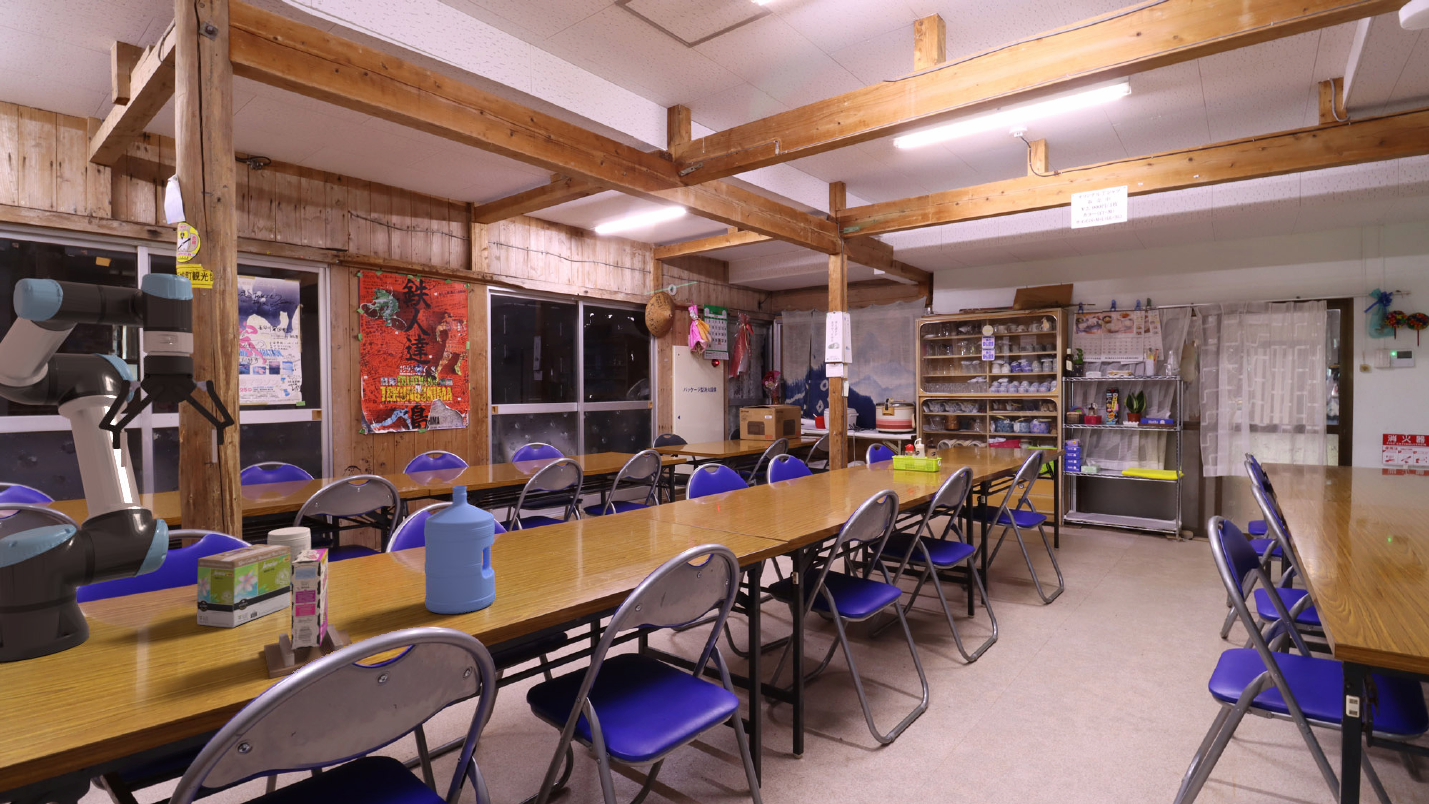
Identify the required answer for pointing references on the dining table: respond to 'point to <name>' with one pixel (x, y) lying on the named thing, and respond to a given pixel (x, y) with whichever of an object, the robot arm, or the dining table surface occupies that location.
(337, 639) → the brown flat ridged block
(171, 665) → the dining table surface
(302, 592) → the candy bar box
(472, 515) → the water jug
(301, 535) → the supplement tub
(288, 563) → the tea box
